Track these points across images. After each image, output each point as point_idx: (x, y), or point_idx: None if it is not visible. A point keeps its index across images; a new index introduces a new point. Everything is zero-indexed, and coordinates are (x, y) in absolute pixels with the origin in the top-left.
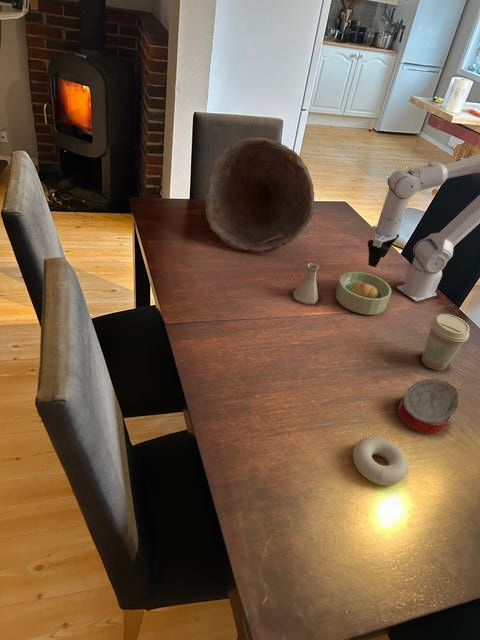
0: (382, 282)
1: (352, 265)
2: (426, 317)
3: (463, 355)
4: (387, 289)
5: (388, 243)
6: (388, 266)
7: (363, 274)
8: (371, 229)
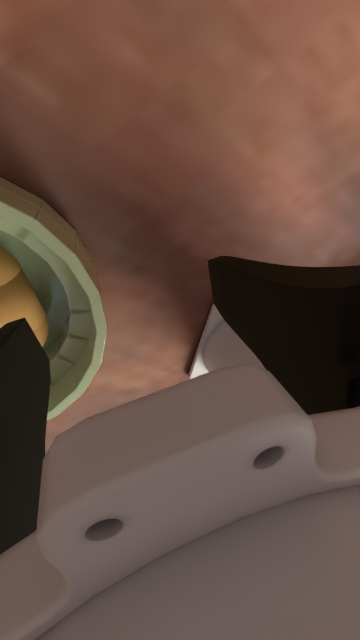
0: (92, 347)
1: (240, 38)
2: None
3: None
4: (73, 382)
5: (278, 366)
6: (347, 184)
7: (53, 250)
8: (52, 455)
